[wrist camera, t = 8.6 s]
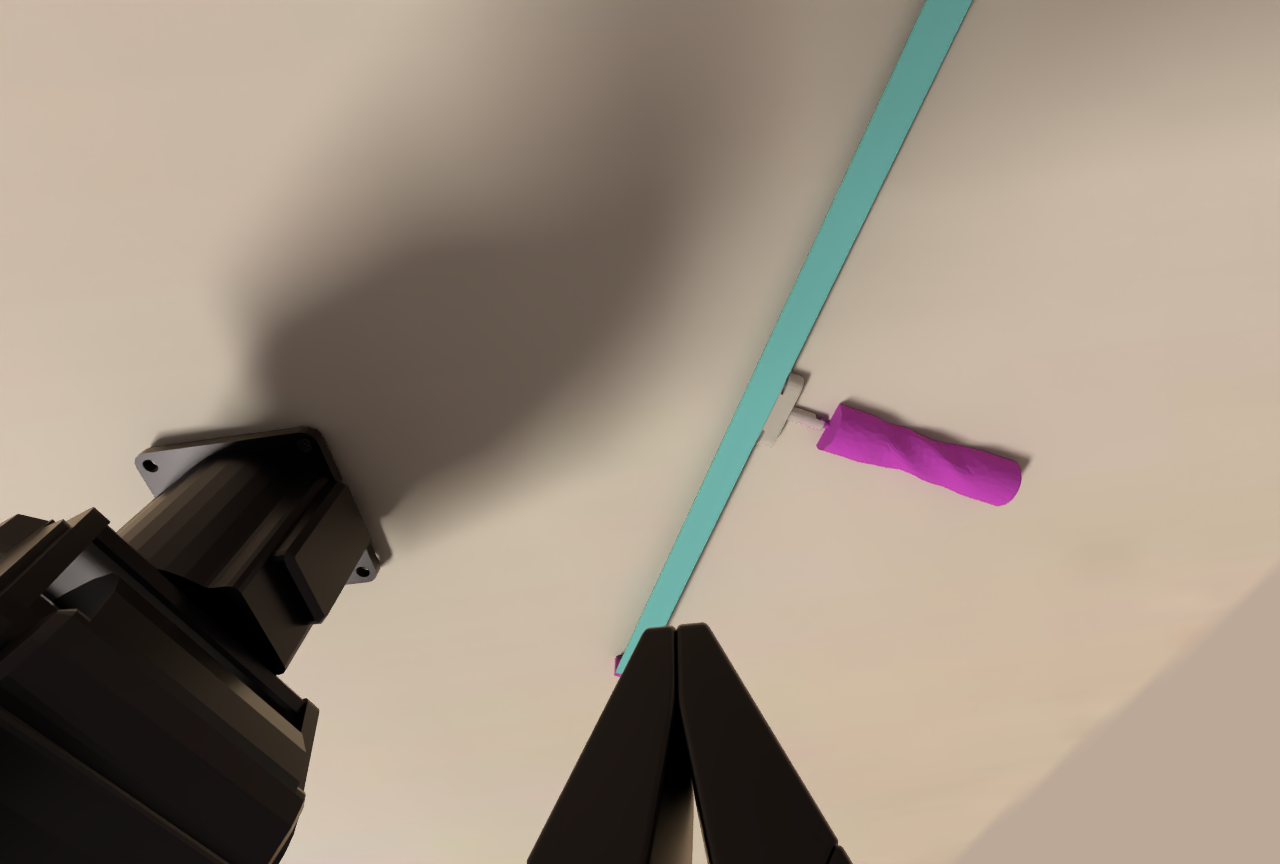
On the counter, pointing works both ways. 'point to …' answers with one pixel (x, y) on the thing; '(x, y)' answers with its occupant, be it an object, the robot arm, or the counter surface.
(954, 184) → the counter surface
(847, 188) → the squeegee
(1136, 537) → the counter surface
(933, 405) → the counter surface
